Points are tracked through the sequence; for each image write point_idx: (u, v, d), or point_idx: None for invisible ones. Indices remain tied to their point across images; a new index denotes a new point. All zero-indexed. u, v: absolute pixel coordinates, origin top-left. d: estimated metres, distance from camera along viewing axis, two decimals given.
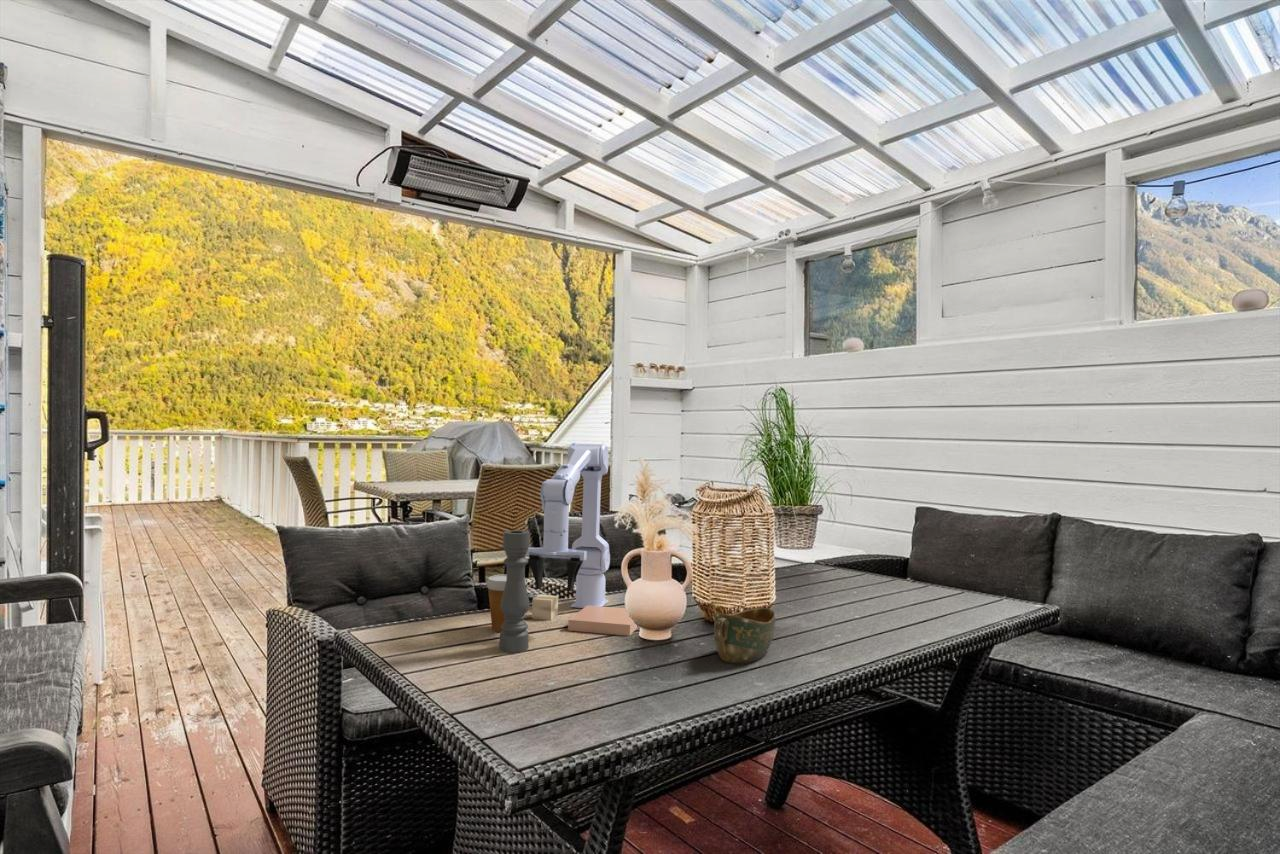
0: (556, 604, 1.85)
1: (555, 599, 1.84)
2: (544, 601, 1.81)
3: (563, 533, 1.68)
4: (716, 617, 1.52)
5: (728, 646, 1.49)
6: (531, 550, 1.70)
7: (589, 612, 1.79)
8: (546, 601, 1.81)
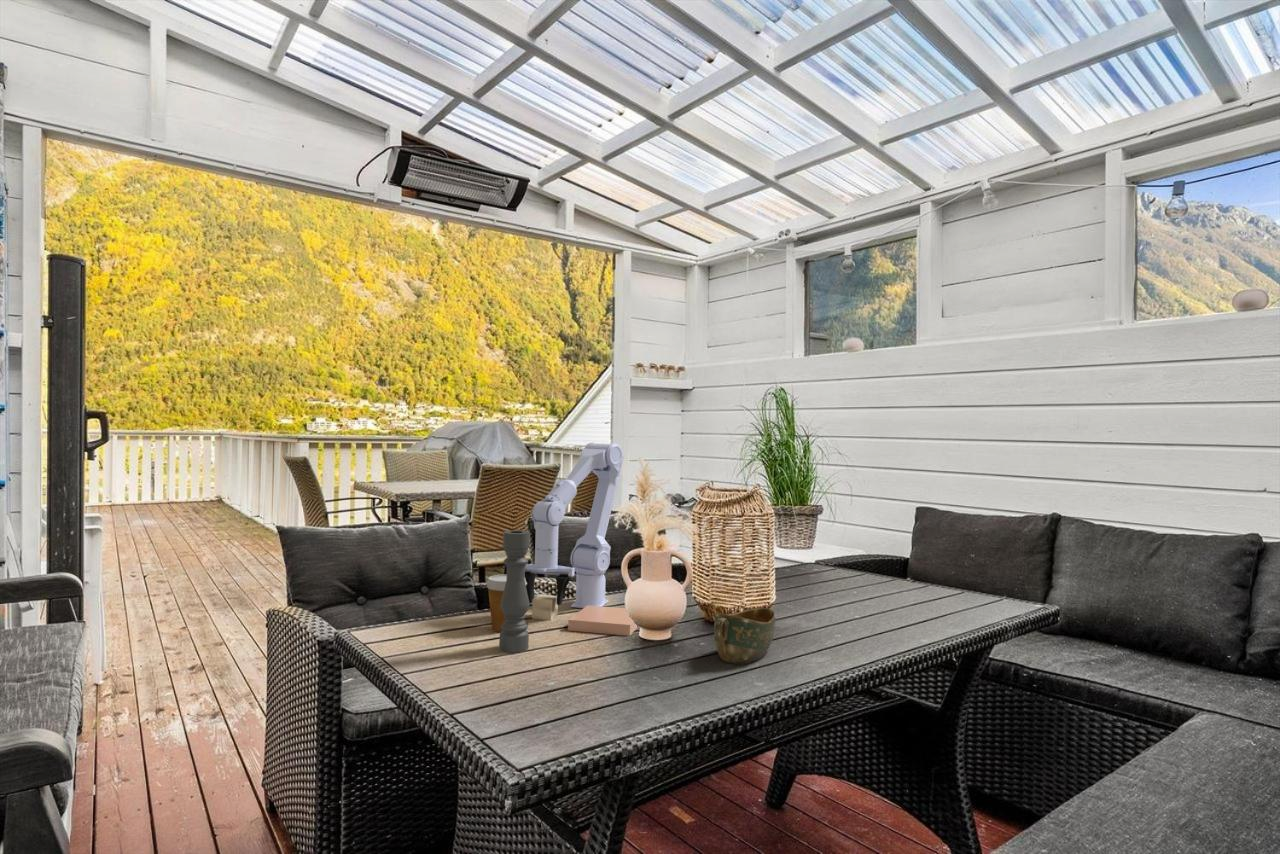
0: (556, 604, 1.85)
1: (555, 599, 1.84)
2: (544, 601, 1.81)
3: (553, 551, 1.82)
4: (716, 617, 1.52)
5: (728, 646, 1.49)
6: None
7: (589, 612, 1.79)
8: (546, 601, 1.81)
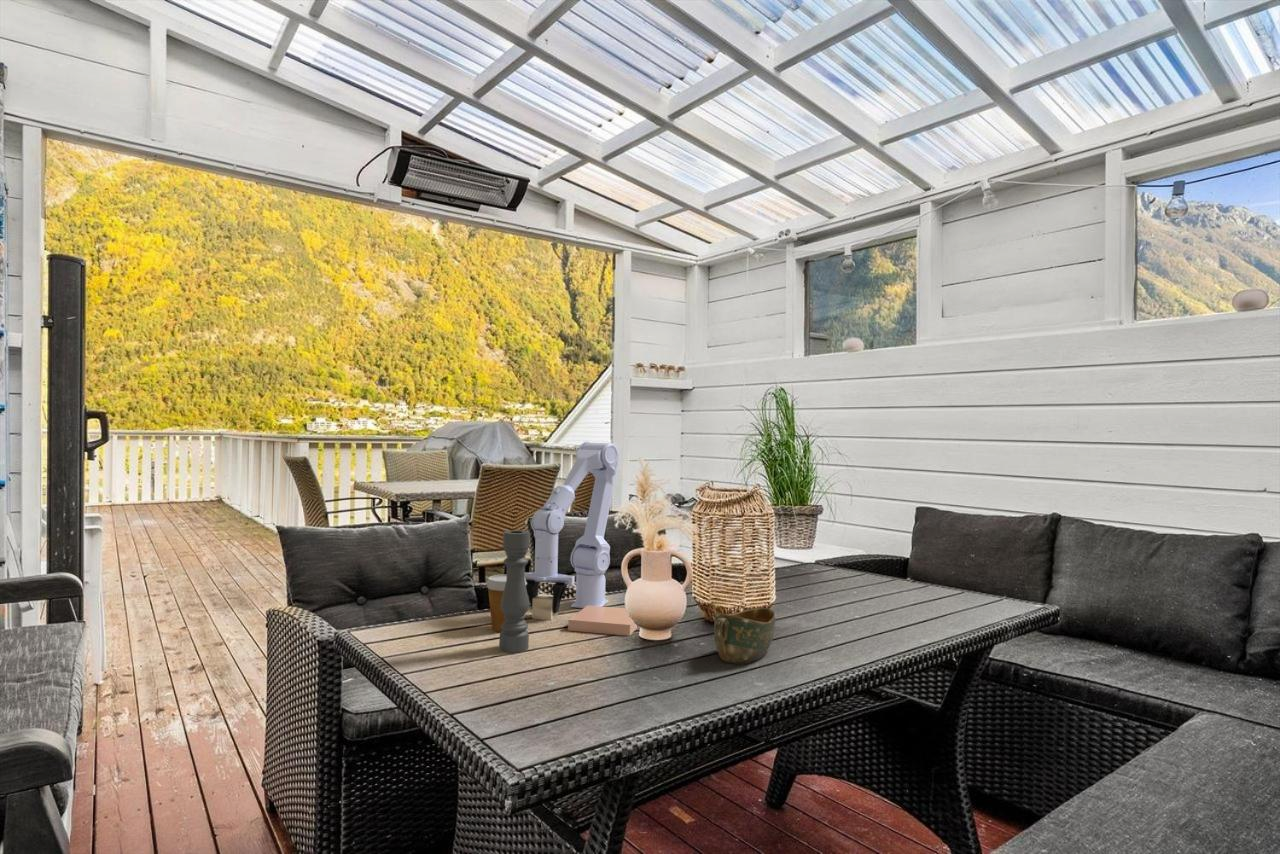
0: None
1: None
2: (544, 601, 1.81)
3: (553, 560, 1.82)
4: (716, 617, 1.52)
5: (728, 646, 1.49)
6: None
7: (589, 612, 1.79)
8: (546, 601, 1.81)
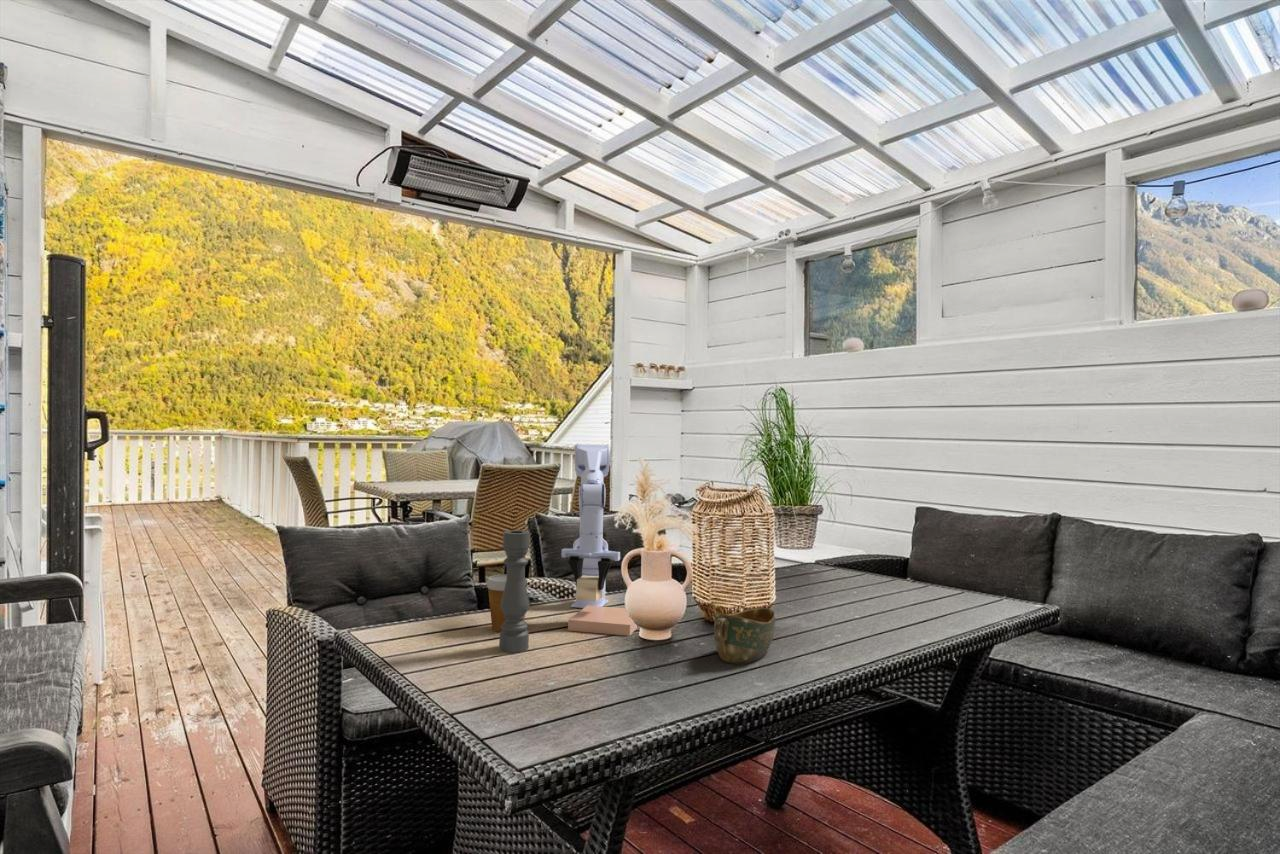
0: None
1: None
2: (589, 581, 1.77)
3: (598, 535, 1.77)
4: (716, 617, 1.52)
5: (728, 646, 1.49)
6: (567, 551, 1.80)
7: (589, 612, 1.79)
8: (591, 581, 1.77)
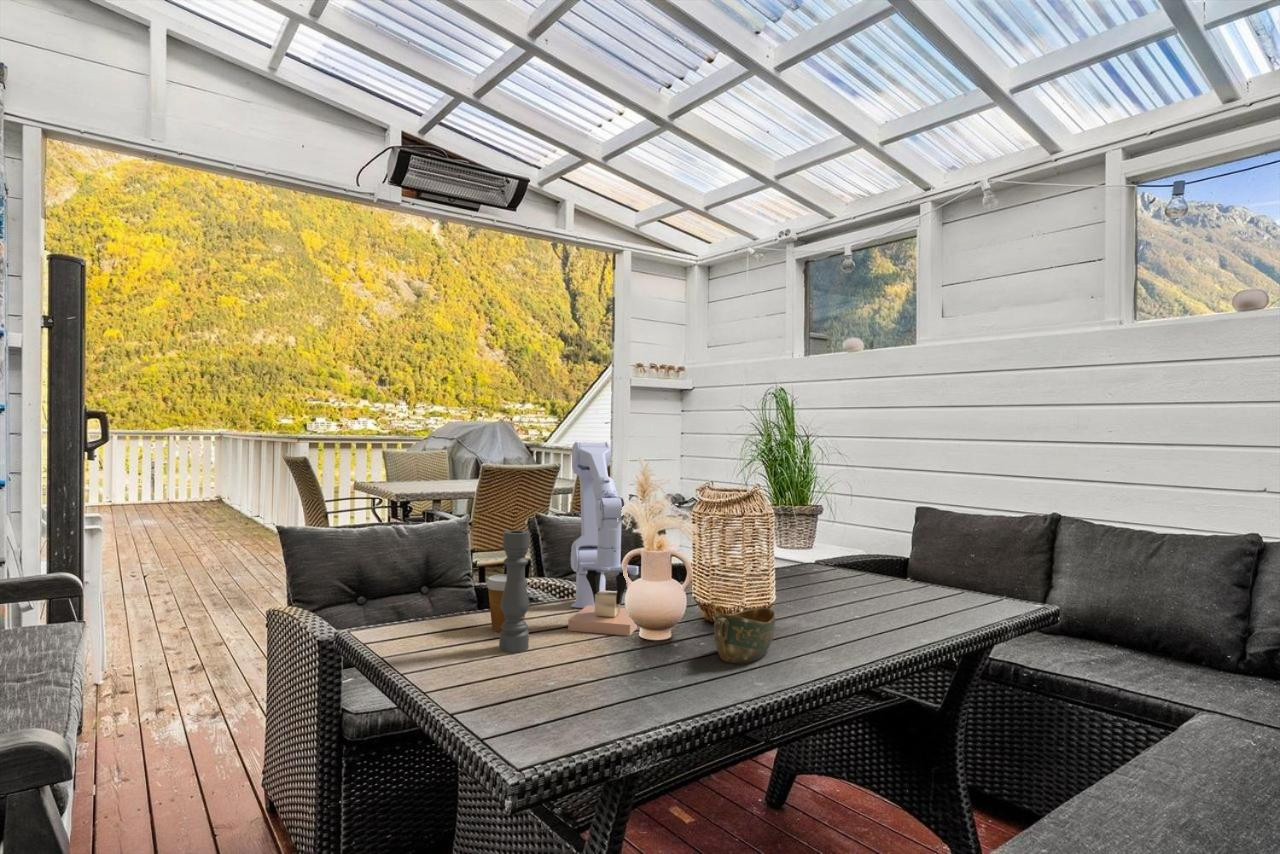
0: None
1: None
2: (607, 597, 1.75)
3: (616, 549, 1.76)
4: (716, 617, 1.52)
5: (728, 646, 1.49)
6: (585, 565, 1.78)
7: (589, 612, 1.79)
8: (609, 597, 1.75)
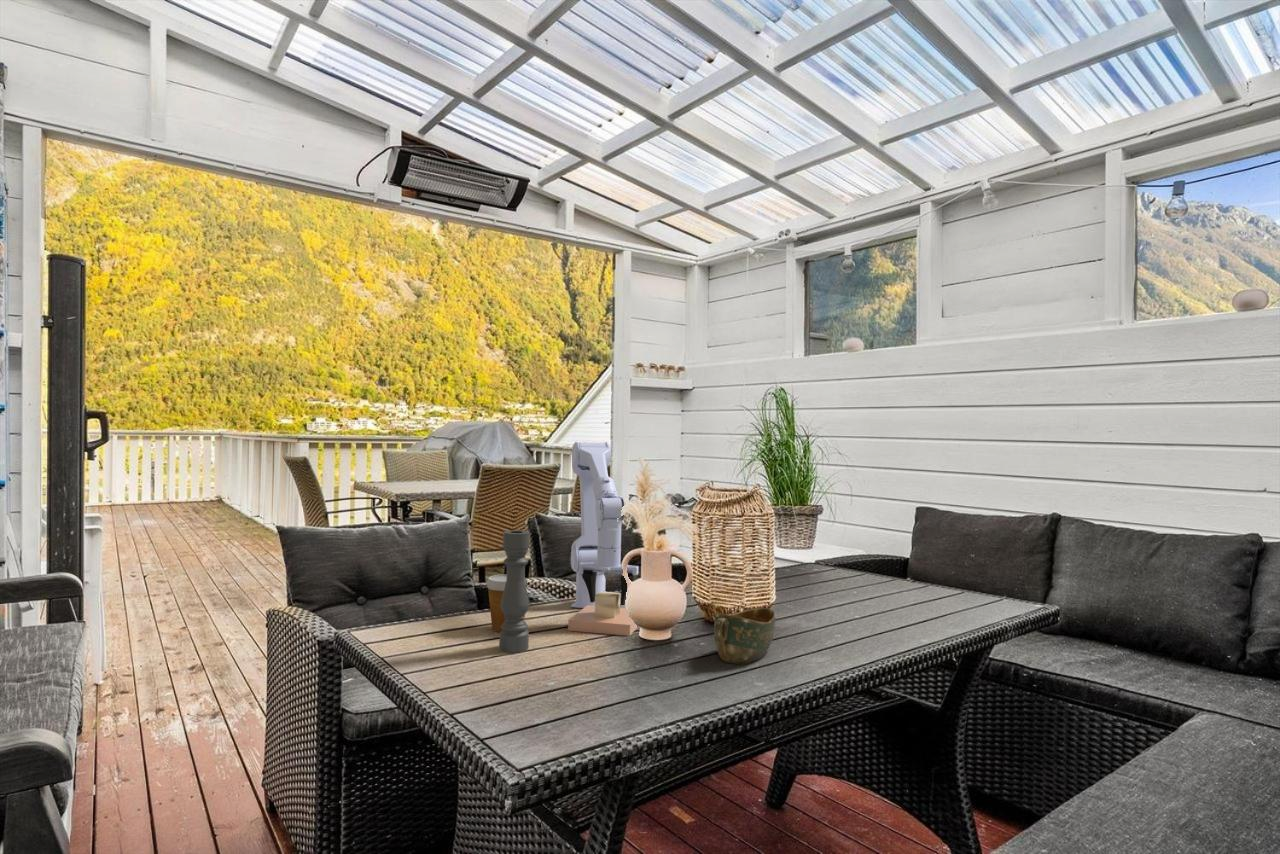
0: (618, 601, 1.78)
1: (618, 596, 1.77)
2: (607, 598, 1.75)
3: (616, 549, 1.76)
4: (716, 617, 1.52)
5: (728, 646, 1.49)
6: (585, 565, 1.78)
7: (589, 612, 1.79)
8: (609, 598, 1.75)
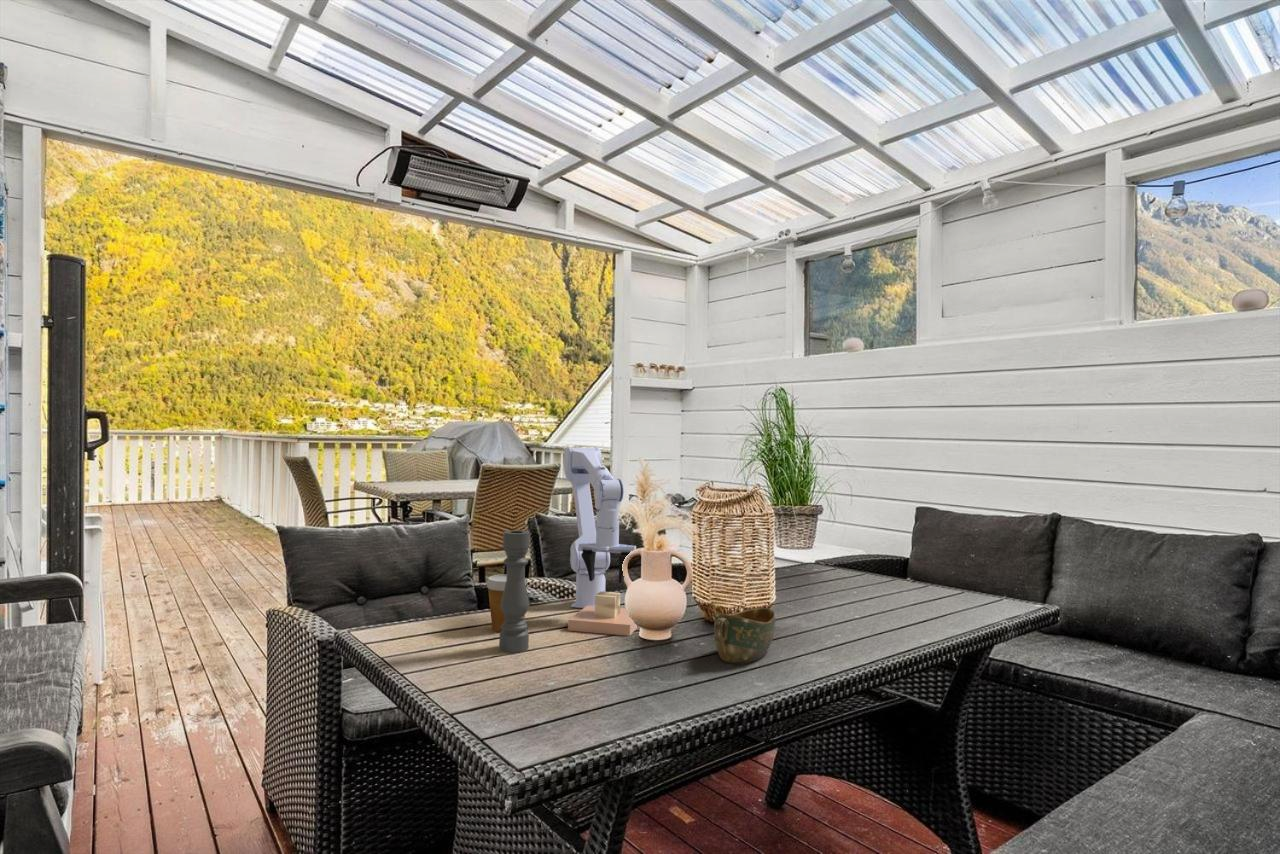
0: (618, 601, 1.78)
1: (618, 596, 1.77)
2: (607, 598, 1.75)
3: (615, 529, 1.82)
4: (716, 617, 1.52)
5: (728, 646, 1.49)
6: (584, 545, 1.84)
7: (589, 612, 1.79)
8: (609, 598, 1.75)
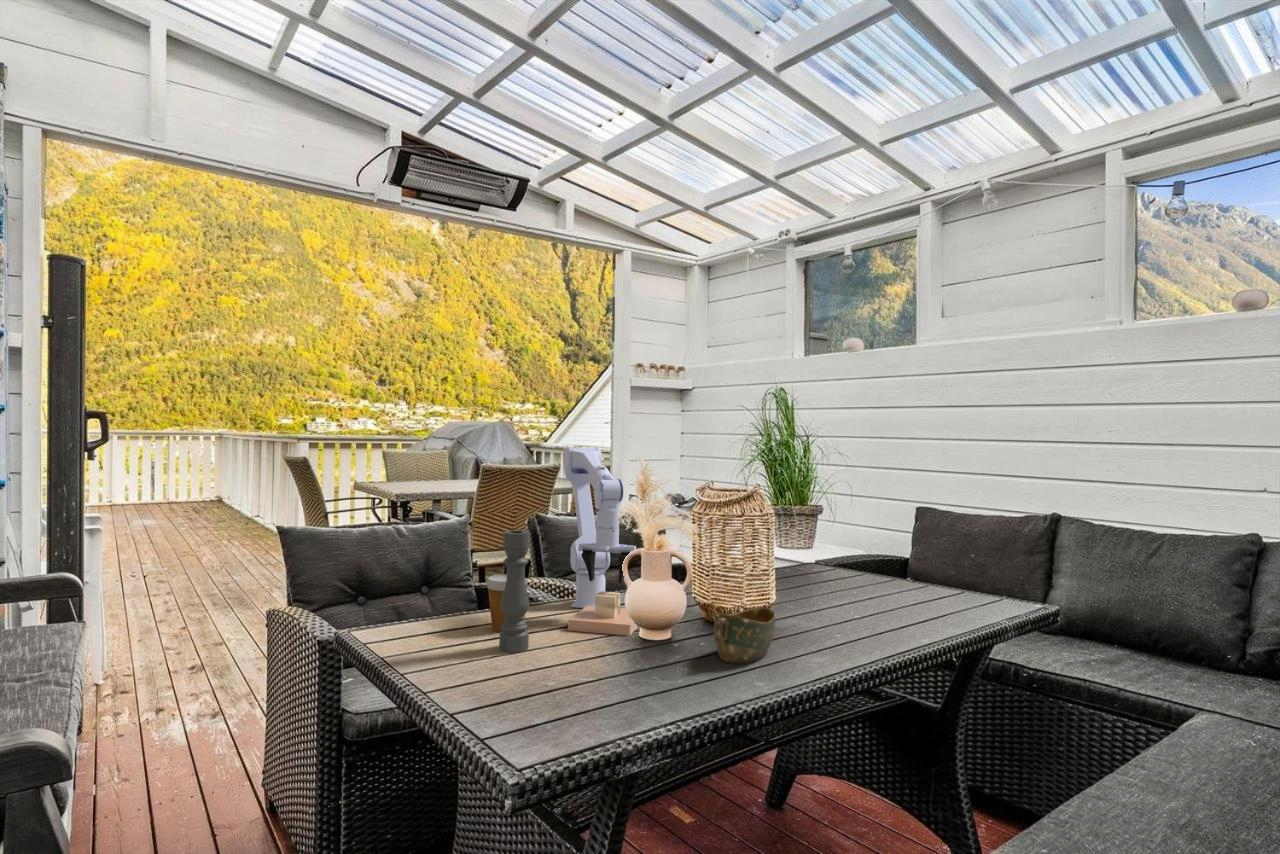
0: (618, 601, 1.78)
1: (618, 596, 1.77)
2: (607, 598, 1.75)
3: (615, 529, 1.82)
4: (716, 617, 1.52)
5: (728, 646, 1.49)
6: (584, 545, 1.84)
7: (589, 612, 1.79)
8: (609, 598, 1.75)
